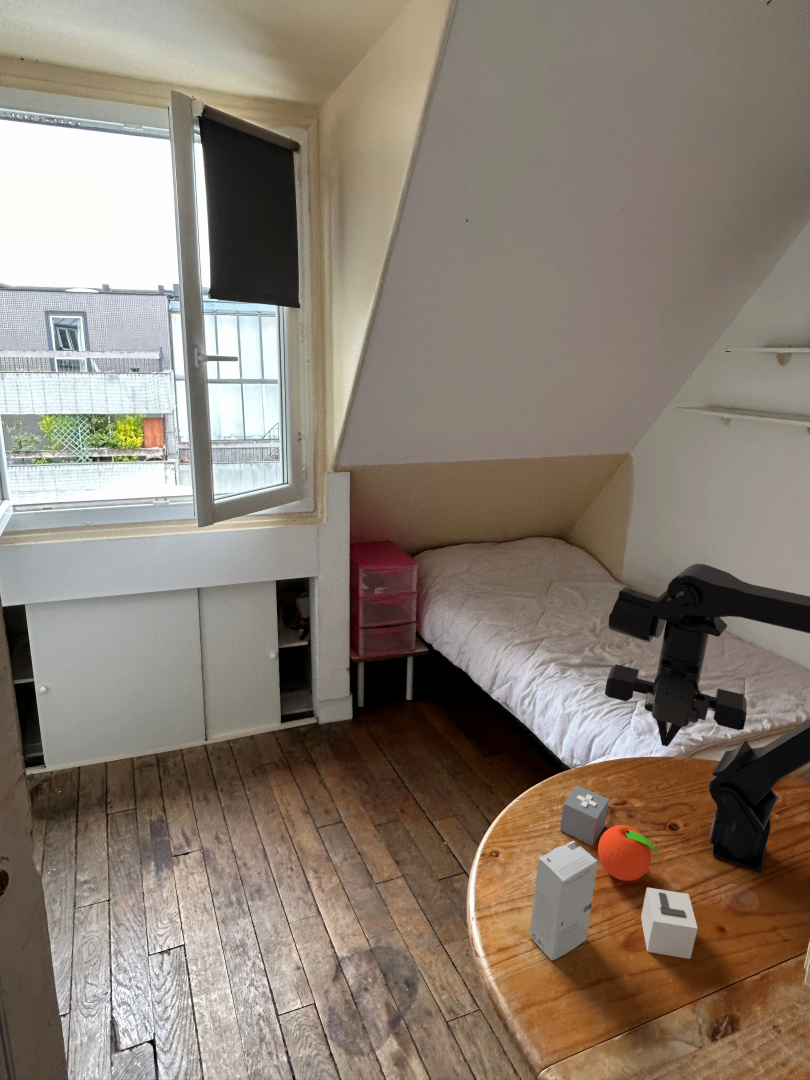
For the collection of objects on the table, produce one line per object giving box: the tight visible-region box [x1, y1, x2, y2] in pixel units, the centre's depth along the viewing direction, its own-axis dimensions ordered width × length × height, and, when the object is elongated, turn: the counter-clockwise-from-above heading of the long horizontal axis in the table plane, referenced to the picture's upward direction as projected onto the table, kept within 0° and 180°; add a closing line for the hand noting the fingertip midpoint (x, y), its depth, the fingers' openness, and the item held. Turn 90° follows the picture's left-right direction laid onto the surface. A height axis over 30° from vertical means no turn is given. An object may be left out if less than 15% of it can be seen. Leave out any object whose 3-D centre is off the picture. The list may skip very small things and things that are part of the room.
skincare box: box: [529, 840, 599, 961], centre depth 82 cm, size 6×4×12 cm
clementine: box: [597, 824, 661, 882], centre depth 93 cm, size 8×7×7 cm
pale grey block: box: [640, 887, 698, 960], centre depth 84 cm, size 5×5×5 cm
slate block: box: [559, 785, 610, 847], centre depth 101 cm, size 5×5×5 cm
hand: (664, 744), depth 102 cm, fingers closed
